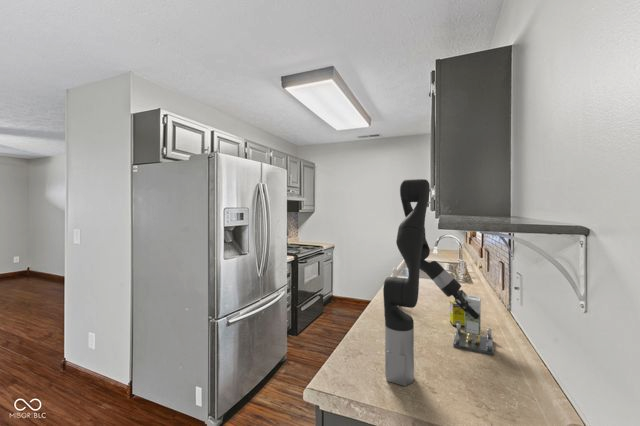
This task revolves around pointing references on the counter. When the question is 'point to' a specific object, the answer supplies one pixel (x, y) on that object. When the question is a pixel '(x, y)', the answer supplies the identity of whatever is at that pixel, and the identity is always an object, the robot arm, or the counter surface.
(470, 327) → the syrup box
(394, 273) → the cosmetic bottle
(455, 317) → the supplement box
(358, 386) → the counter surface
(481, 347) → the chassis plate
